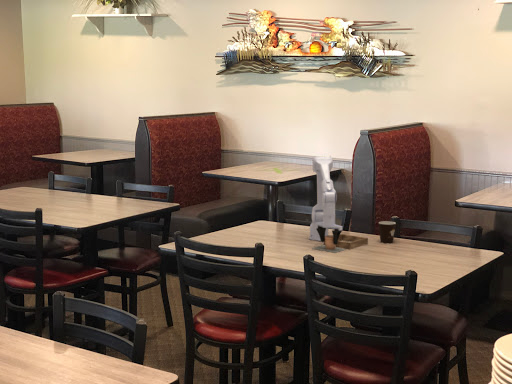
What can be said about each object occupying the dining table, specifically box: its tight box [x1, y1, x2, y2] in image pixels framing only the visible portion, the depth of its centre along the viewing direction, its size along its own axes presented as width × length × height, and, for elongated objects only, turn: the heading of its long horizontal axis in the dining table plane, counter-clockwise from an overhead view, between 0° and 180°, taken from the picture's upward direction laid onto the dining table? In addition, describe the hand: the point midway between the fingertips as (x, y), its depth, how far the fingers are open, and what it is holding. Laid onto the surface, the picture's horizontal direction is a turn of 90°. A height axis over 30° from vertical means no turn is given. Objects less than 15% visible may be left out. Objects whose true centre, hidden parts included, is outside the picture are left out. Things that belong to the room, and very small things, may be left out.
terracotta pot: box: [325, 234, 337, 250], centre depth 335 cm, size 6×6×6 cm
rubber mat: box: [311, 244, 347, 254], centre depth 334 cm, size 14×9×1 cm, turn 48°
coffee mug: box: [378, 220, 398, 244], centre depth 349 cm, size 12×9×10 cm
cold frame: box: [323, 233, 369, 250], centre depth 345 cm, size 16×16×3 cm
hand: (329, 242), depth 334 cm, fingers open, 7 cm apart
